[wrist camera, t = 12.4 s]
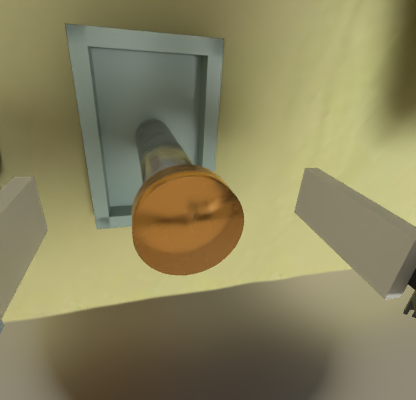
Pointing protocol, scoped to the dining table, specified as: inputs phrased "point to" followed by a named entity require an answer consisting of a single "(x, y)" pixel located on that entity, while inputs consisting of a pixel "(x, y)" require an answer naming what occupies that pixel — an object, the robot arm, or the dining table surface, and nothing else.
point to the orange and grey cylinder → (180, 207)
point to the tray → (140, 104)
